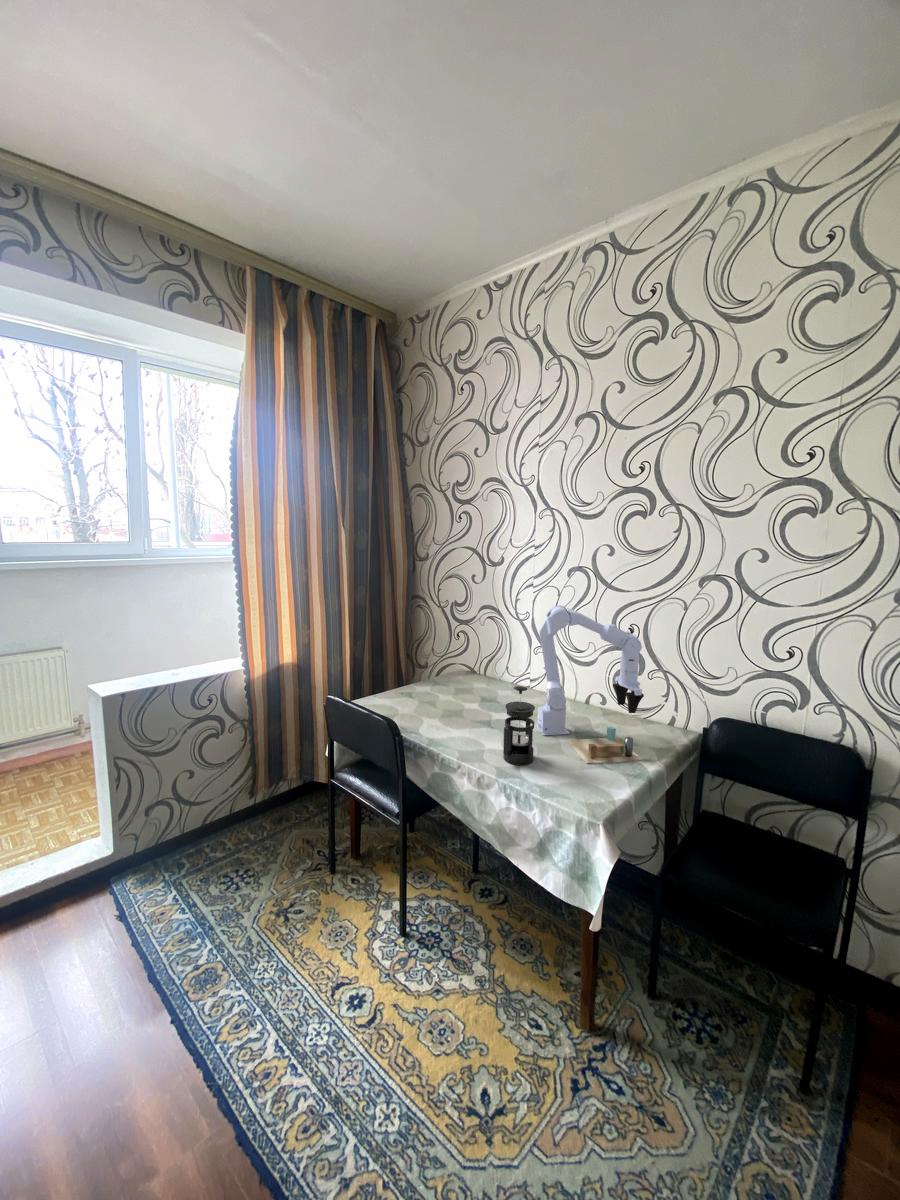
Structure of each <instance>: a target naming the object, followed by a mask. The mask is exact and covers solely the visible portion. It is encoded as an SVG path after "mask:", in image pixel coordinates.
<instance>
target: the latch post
mask: <svg viewBox="0 0 900 1200" xmlns="http://www.w3.org/2000/svg"><path fill="white" fill-rule="evenodd" d="M616 735H617V728H616V727H614V726H608V727H606V738H607V739H608V740H609V741H615V737H617V736H616Z"/></svg>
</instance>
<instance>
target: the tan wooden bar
mask: <svg viewBox="0 0 900 1200" xmlns="http://www.w3.org/2000/svg"><path fill="white" fill-rule="evenodd" d="M623 754H624V745H623V744H621V743H616V744H600V745H595V744H589V748H588V755H589V756H590V758H593V757H606V756H622V755H623Z"/></svg>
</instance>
